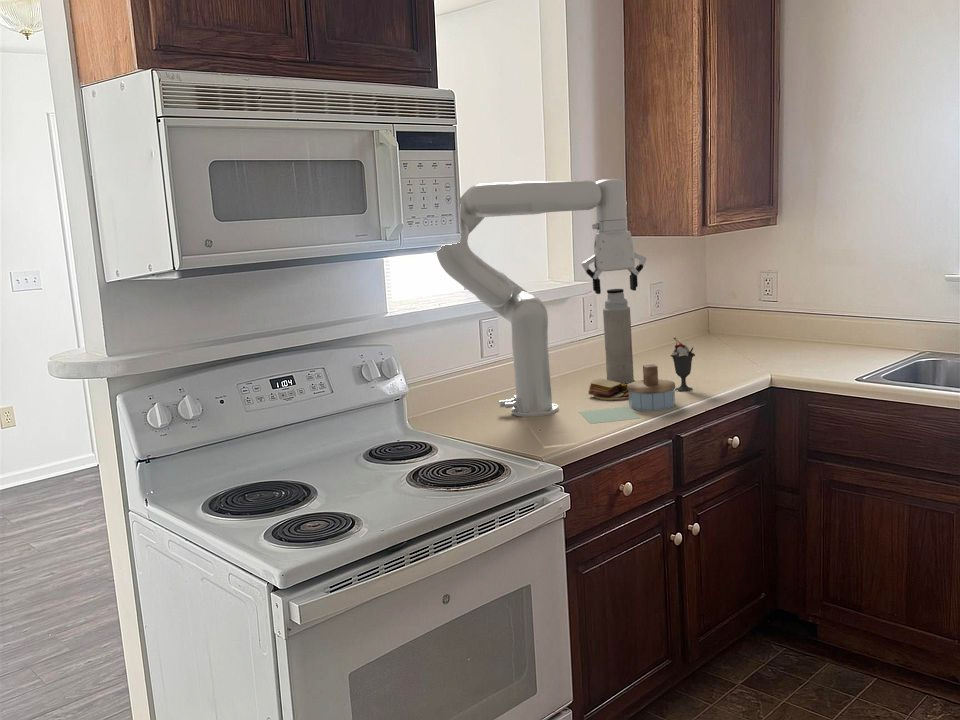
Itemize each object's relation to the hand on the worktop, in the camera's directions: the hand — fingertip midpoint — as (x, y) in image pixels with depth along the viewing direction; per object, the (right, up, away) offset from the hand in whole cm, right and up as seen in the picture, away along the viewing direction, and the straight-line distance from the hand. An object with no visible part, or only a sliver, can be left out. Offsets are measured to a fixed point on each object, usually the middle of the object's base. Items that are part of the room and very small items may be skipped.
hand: (615, 291), depth 235 cm
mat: (-3, -33, -8) cm, 34 cm away
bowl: (+9, -30, -2) cm, 32 cm away
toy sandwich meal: (+1, -29, +13) cm, 32 cm away
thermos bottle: (+6, -25, +32) cm, 41 cm away
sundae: (+21, -27, +14) cm, 37 cm away
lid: (+9, -26, -3) cm, 27 cm away
